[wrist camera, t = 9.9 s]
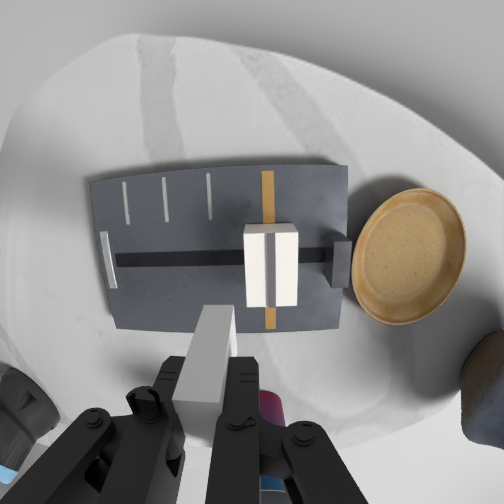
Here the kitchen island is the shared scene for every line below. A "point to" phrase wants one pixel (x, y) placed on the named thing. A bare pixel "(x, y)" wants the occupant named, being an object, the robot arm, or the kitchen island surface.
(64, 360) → the kitchen island surface
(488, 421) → the pitcher
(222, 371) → the robot arm
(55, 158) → the kitchen island surface
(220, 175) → the console
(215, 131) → the kitchen island surface
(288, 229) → the fader
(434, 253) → the plant saucer
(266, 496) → the cup
